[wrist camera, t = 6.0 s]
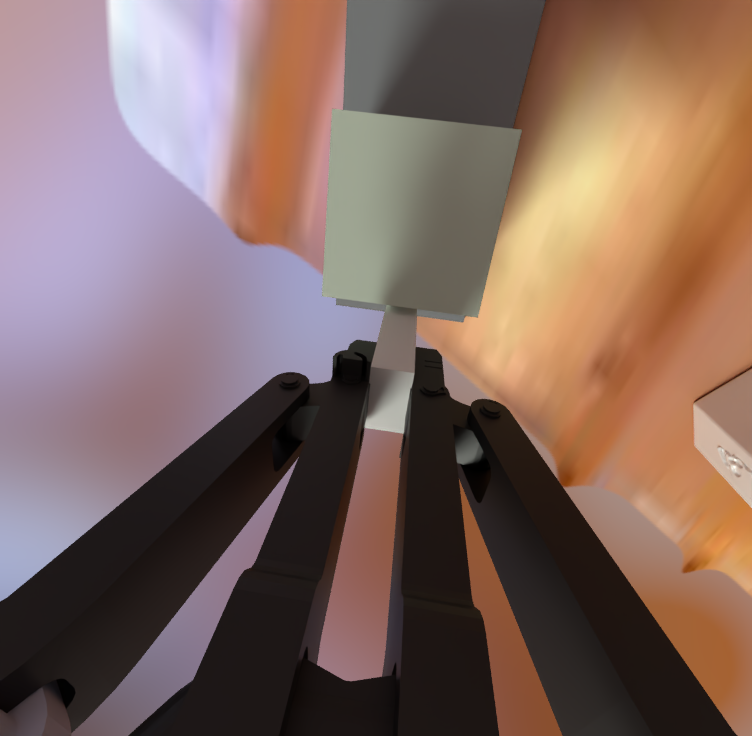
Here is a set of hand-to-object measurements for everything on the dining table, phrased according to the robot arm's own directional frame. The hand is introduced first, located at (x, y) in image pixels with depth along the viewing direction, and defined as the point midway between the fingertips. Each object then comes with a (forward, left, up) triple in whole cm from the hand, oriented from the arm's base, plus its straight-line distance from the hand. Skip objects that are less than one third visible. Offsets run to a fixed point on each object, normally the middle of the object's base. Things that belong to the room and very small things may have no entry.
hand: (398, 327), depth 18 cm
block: (-4, 0, -6) cm, 7 cm away
